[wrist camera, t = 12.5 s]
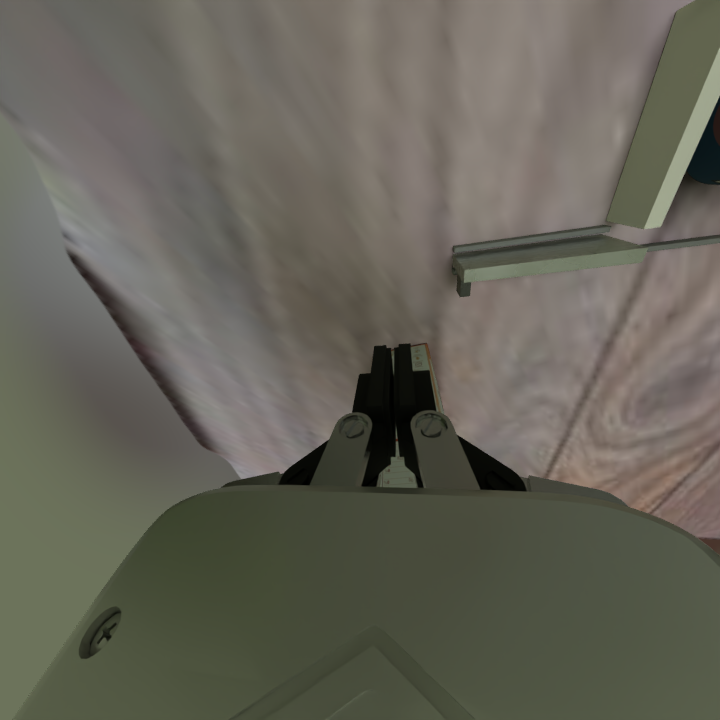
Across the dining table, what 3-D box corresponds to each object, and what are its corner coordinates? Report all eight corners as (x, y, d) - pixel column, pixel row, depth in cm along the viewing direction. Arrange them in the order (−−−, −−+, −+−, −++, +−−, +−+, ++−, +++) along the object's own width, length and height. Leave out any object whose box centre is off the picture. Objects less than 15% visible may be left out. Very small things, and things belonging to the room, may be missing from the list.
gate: (451, 281, 25) (462, 301, 21) (452, 254, 24) (464, 270, 20) (590, 265, 23) (631, 284, 19) (601, 234, 22) (648, 247, 18)
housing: (452, 272, 25) (460, 286, 22) (460, 66, 17) (475, 42, 14) (766, 233, 21) (835, 245, 17) (964, -64, 13) (1155, -143, 10)
